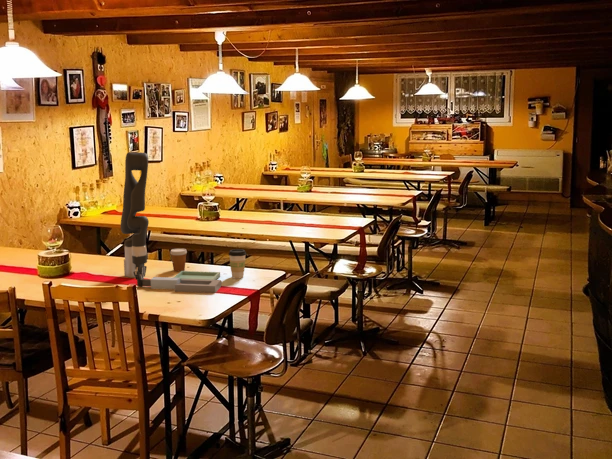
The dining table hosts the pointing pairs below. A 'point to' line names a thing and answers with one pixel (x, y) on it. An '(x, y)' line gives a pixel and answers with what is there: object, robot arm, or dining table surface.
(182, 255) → the disposable coffee cup
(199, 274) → the tray
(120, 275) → the dining table surface
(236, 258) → the coffee cup
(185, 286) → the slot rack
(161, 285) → the tall grey bar
